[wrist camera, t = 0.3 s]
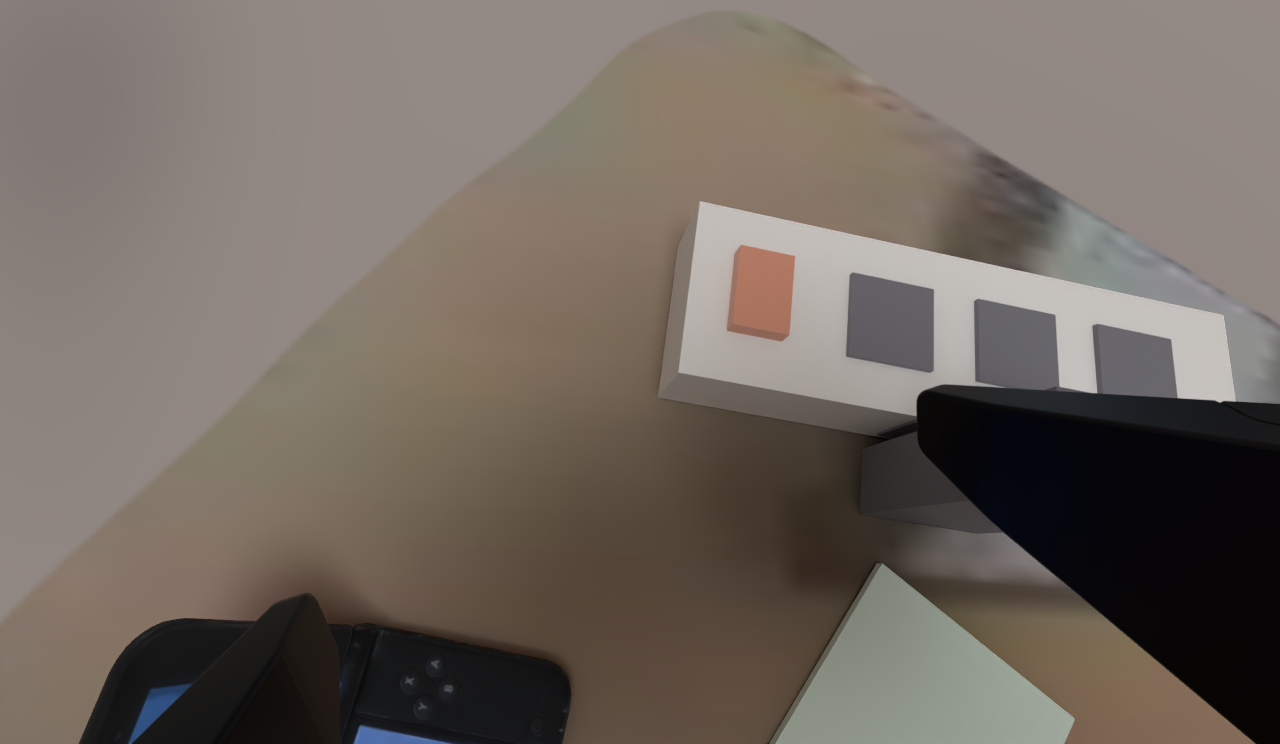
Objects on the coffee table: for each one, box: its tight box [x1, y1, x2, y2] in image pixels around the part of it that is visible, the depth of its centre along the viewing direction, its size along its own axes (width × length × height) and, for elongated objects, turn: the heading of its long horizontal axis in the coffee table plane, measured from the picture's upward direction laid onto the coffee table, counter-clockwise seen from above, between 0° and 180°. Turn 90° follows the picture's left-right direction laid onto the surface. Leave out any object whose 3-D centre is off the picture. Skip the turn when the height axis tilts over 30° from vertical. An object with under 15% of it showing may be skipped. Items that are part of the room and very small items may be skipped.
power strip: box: [658, 201, 1236, 439], centre depth 25 cm, size 22×7×4 cm, turn 82°
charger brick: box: [860, 386, 1089, 533], centre depth 21 cm, size 3×5×10 cm, turn 82°
